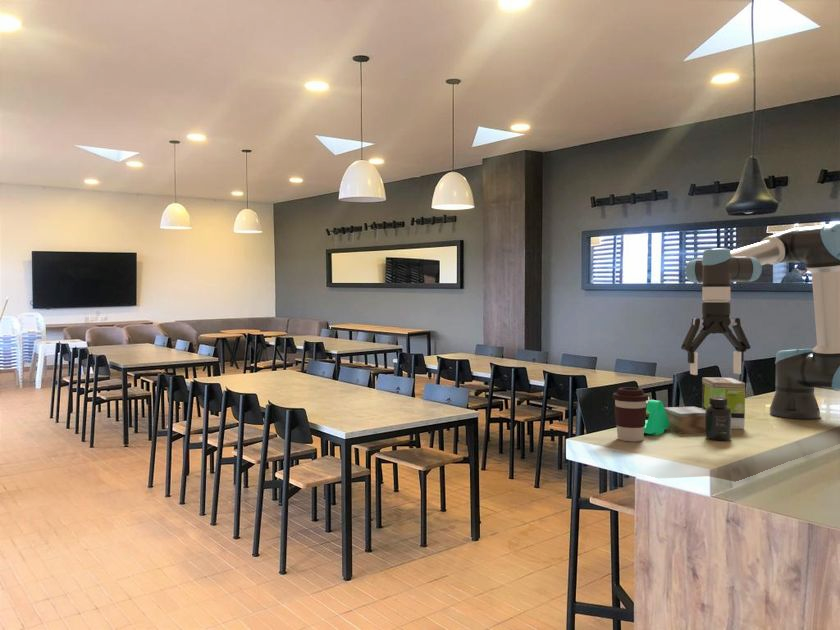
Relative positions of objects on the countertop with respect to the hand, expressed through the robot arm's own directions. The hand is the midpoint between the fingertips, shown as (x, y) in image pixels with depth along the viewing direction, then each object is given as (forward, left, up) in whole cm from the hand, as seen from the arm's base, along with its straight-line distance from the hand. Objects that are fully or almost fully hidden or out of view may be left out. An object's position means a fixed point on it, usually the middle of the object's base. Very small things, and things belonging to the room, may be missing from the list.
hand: (715, 374), depth 189 cm
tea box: (-14, -19, -19) cm, 31 cm away
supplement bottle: (-1, 0, -19) cm, 19 cm away
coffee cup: (+25, -3, -19) cm, 32 cm away
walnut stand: (+1, -14, -19) cm, 24 cm away
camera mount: (+15, -12, -19) cm, 27 cm away
